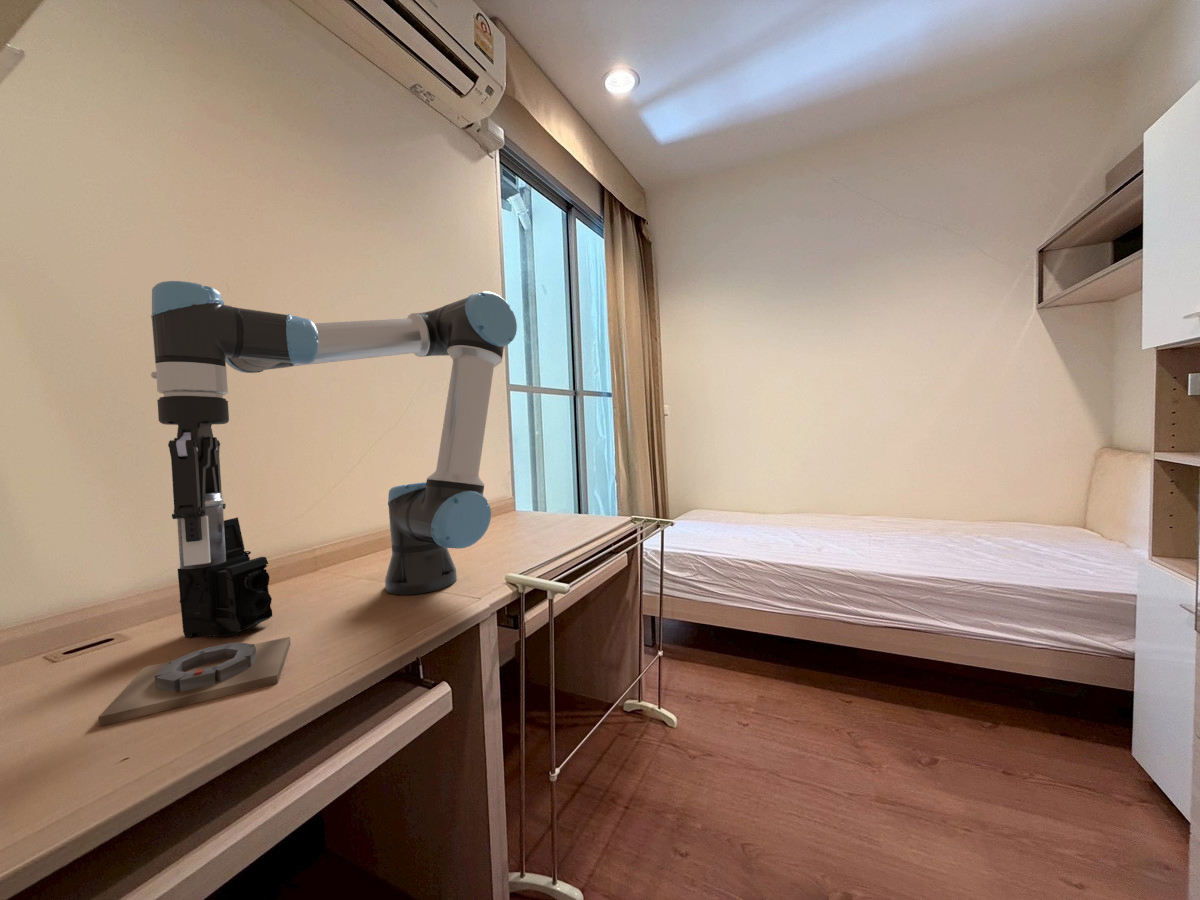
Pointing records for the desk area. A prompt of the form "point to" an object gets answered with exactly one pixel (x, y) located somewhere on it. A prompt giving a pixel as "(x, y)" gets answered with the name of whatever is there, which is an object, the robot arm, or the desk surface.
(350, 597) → the desk surface
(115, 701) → the mount board
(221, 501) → the lens
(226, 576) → the camera
